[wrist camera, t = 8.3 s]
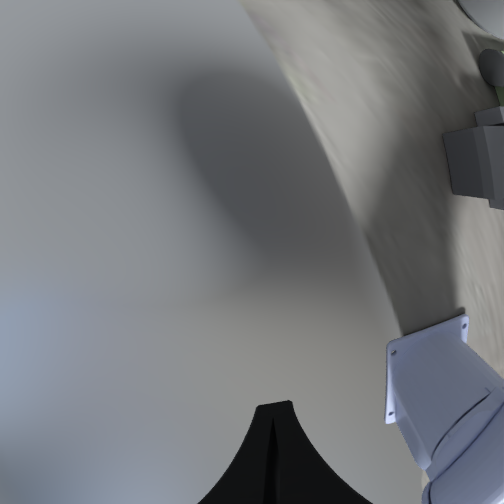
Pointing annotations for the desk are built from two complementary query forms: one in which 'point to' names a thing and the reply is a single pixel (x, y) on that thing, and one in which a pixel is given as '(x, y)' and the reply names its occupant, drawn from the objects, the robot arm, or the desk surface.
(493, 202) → the deck
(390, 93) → the desk surface
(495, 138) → the grey rectangular box
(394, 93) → the desk surface
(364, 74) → the desk surface
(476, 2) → the can
